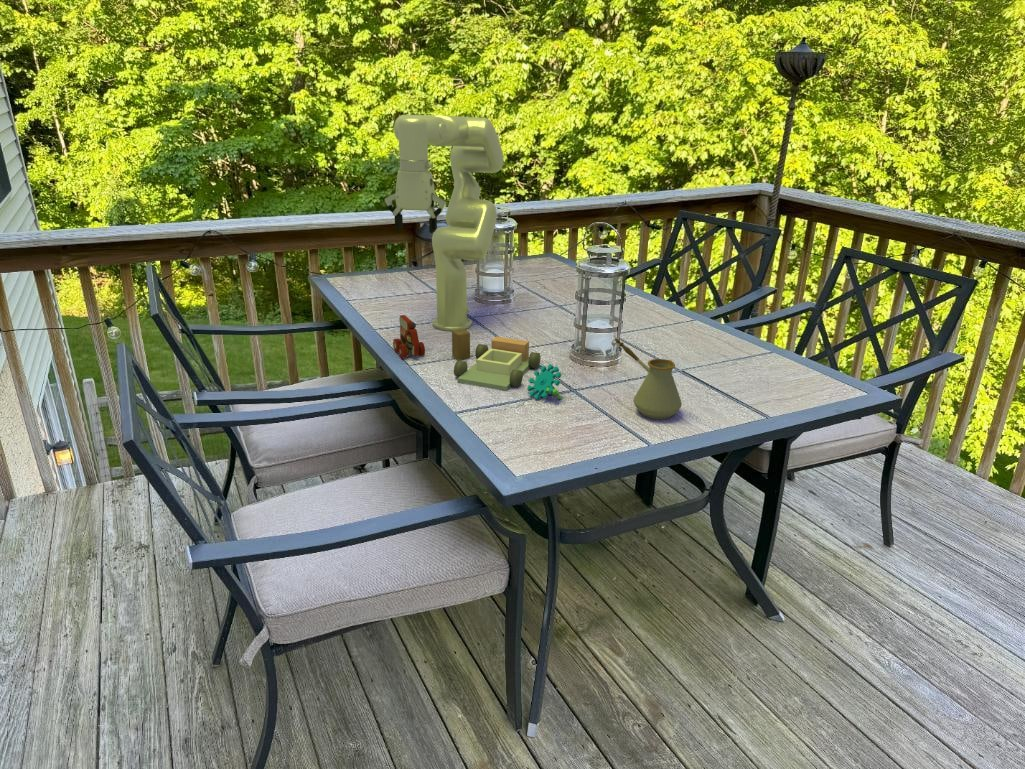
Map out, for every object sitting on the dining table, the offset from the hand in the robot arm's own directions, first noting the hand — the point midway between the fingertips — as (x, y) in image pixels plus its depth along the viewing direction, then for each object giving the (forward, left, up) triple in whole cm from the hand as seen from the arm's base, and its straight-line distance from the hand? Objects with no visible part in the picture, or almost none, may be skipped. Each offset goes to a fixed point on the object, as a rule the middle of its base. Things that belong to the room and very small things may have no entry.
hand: (416, 230), depth 202 cm
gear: (+17, +45, -35) cm, 59 cm away
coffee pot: (+13, +68, -35) cm, 78 cm away
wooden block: (+1, +13, -35) cm, 38 cm away
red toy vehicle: (+4, -1, -35) cm, 36 cm away
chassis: (+7, +27, -35) cm, 45 cm away
